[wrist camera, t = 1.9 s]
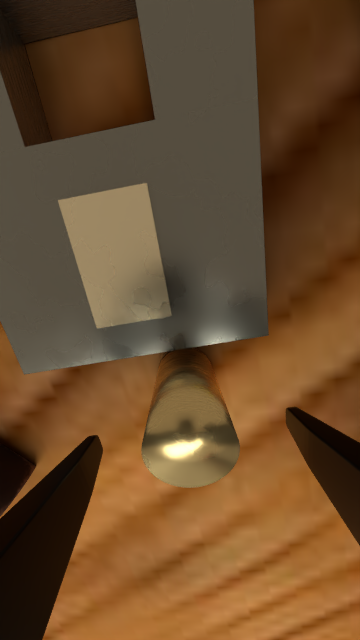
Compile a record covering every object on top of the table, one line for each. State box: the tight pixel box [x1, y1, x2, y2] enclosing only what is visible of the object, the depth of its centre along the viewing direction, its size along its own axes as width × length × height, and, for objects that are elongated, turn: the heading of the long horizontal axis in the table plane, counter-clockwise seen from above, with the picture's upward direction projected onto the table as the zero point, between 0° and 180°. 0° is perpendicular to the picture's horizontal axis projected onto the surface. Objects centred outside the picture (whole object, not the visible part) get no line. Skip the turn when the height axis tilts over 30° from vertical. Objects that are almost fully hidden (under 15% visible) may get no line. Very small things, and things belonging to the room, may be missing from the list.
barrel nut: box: [142, 348, 240, 488], centre depth 10 cm, size 4×4×6 cm
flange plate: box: [0, 0, 268, 374], centre depth 8 cm, size 20×14×3 cm
